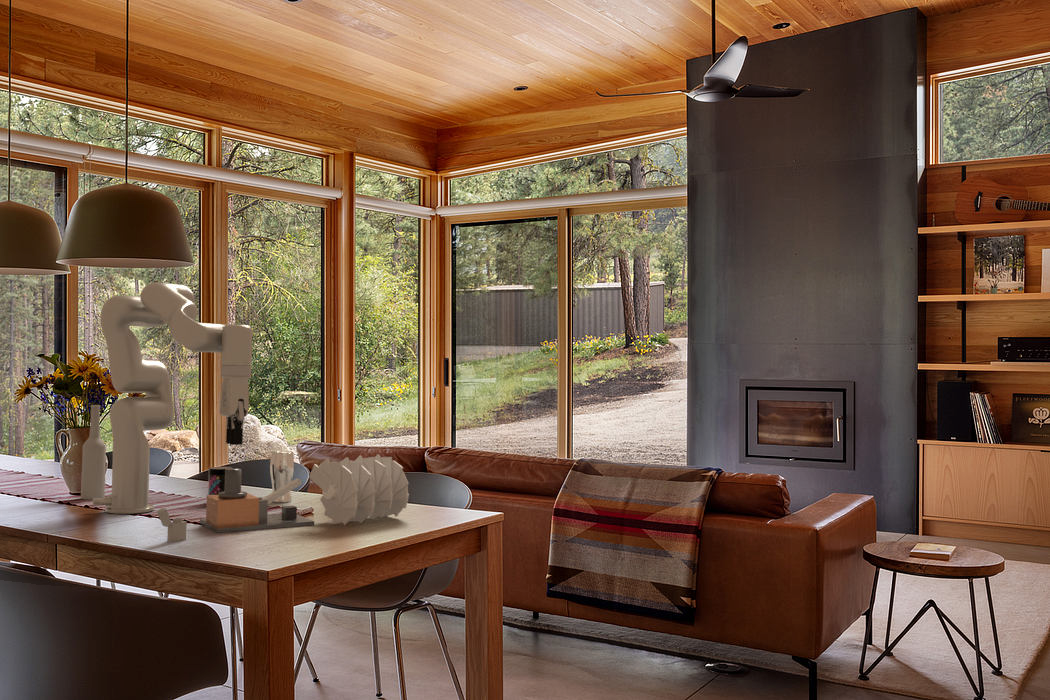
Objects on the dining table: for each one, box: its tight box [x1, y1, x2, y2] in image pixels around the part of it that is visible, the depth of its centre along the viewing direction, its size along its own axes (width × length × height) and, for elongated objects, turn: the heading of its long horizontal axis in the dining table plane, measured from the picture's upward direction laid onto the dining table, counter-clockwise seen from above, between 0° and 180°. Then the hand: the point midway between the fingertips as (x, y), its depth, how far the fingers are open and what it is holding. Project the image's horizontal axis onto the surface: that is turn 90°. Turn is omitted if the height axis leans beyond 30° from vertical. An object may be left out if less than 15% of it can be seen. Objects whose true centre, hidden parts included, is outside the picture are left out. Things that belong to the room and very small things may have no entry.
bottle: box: [80, 404, 107, 501], centre depth 280 cm, size 7×7×28 cm
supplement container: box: [207, 466, 233, 495], centre depth 276 cm, size 7×7×10 cm
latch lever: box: [261, 478, 303, 505], centre depth 245 cm, size 12×2×1 cm, turn 124°
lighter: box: [156, 507, 188, 543], centre depth 216 cm, size 7×2×8 cm, turn 148°
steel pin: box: [218, 468, 248, 499], centre depth 238 cm, size 7×7×13 cm
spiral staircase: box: [309, 453, 410, 526], centre depth 250 cm, size 18×18×25 cm
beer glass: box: [269, 450, 295, 504], centre depth 282 cm, size 7×7×15 cm
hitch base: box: [199, 492, 315, 534], centre depth 241 cm, size 25×16×8 cm, turn 123°
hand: (234, 443), depth 238 cm, fingers closed
